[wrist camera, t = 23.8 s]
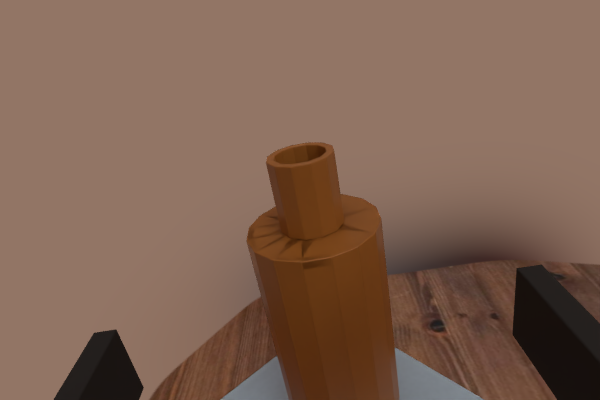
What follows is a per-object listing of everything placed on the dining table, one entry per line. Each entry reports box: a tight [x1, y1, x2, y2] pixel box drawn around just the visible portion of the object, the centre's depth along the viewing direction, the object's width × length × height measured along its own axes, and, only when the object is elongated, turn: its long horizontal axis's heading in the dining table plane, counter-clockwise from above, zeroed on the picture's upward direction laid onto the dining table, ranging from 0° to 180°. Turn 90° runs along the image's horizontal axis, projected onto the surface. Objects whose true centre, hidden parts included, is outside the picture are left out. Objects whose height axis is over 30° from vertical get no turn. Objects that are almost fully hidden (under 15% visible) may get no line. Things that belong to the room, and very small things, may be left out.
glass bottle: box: [247, 143, 400, 400], centre depth 24 cm, size 7×7×18 cm
